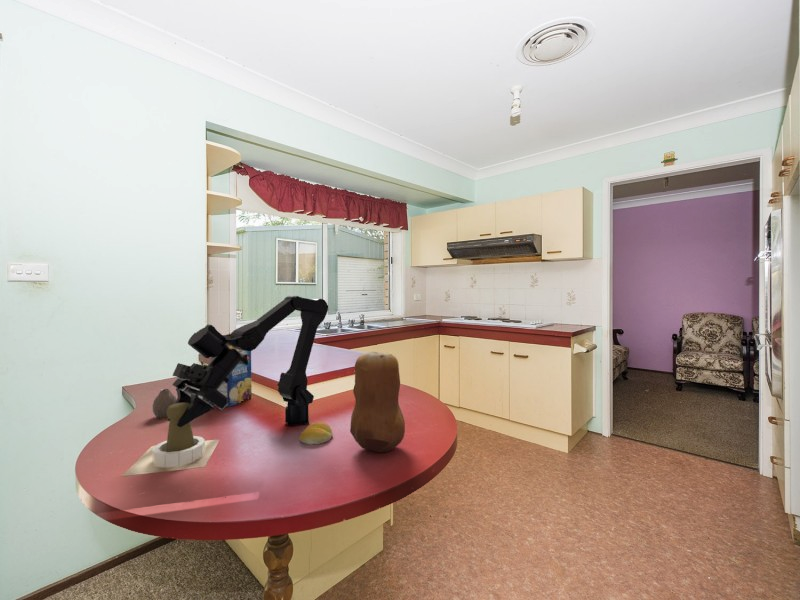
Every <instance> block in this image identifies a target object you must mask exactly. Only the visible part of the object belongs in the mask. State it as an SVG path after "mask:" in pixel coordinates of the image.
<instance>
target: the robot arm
mask: <svg viewBox="0 0 800 600" xmlns="http://www.w3.org/2000/svg"><path fill="white" fill-rule="evenodd" d="M295 311H297V312H300V319H301V320H300V321H301V327H300V331H299V335H298V337H297V341H296V345H295V349H294V352H293V356H292V360H291V363H290V366H289V369H287V370H286V372H281V373H280V376H279V380H278V383H277V385H276V386H277V387H278V389H277V392H278V393H279V395H280V396H281V397H282V399H283V402H285V403H287V404H286V405H287V406H285V408H284V410H285V413H284V414H285V423H286V426H287V427H290V426H291V427H292V425H293V426H300V425H302V426H303V425H310V417H309V414H310V413H309V405H310V404H312V403H313V401H314V398H315V396H314V395H313V394H312V393H311V392H310V391H309V390H308V383H309V382H308V376H307V372H306V371H307V368H308V365H309V361H310V356H311V353H312V349H313V346H314V343H315V339H316V335H317V331H318V328H319V327H320V326H321V324H322V323H323V321H324V320H325V319H326V316H327V314H328V311H329V305H328V302H327V301H326V300H325V299H324V298H305V297H301V296H299V295H288V296H286V297H284V299H283V300H282V301H280V302H279V303H278V304H276V305H275V306H274V307H272V308H271V309H270V310H268V311H267V312H265V313H264V314H263V315H262V316H260V317H259V318H257V319H256V320H255V321H252V322H250V323H246V324H244V325H241V326H240V327H238V328H236V329H234V330H232V332H231V333H229V334H225V335H223V334H222V333H220V332H219V331H218V330H217V329H216V327H215V326H214V325H212V324H206V325H205V326H204V327H202V328H200V329H199V330H198V331H196V332H194V333H193V334H192V335H191V336H190V338H189V339H188V341H187V344H188V345H189V346H190V347H191V348H192V349H193V350H194V351H196V352H198V353H199V354H200V355H201V356H202V357H203V358H205V359H211V357H212V358H214V357H215V358H214V359H213V360H212V361H211V360H210V362H209V363H208V364H198V363H195V362H194V363H193V364H191V365H187V364H183V363H177V364H176V366H175V369H174V371H173V373H172V376H173V377H176V378H177V379H176V380H175V381H174V382H173V383H172V386H173V387H175V391H176V394H177V397H176V399H177V401H176V403H189V404H190V405H189V407H188V408H187V409H186V411H185V412H184V414H183V415H182V417H181V418H180V420H179V421H178V423H177V426H179V427H182V426H184V425H186V424H187V423H189V422H191V423H192V422H193V421H194V420H196V419H199V417H201V416H203V415H205V414H207V413H209V412H211V411H214V410H215V408H216V409H219V410H221V411H223V410H224V409H225V408H226V407H225V406H226V405H227V404H228V398H227V397H226V396H224V395H223V394H222V393H220V392H219V391H218V388H219V387H220V386H221V385H222V383H223V382H225V383H227V382H228V381H229V379H228V378H227V377H228V376H229V375H230V374H231V372H232V371H233V370H234V369H235V367H236V366H237V365H238V364H239V363H240V364H244V365H248V360H247V355H246V354H240V353H239V352H238V351H237V350H236V349H239V350H244V351H251V352H252V351H254V350H255V349H257V347H259V346H260V345H261V344H262V342H263V341H264V340H265V337H266V335H267V334H268V333H269V332H270V331H271V330H272V329H273V328H275V327H276V326H277V325H279V324H280V323H281V322H282V321H284V320H285V319H286V318H287V317H289V316H290V315H291V314H293V312H295ZM226 345H231V346H232V347H233V348H235V349H230V348H228V347H227V346H226ZM176 403H175V404H176ZM214 405H216V406H215V407H214ZM167 421H168V422H170V419H169V418H167Z"/></svg>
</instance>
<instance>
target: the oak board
mask: <svg viewBox="0 0 800 600" xmlns="http://www.w3.org/2000/svg"><path fill="white" fill-rule="evenodd" d="M220 441H221V439H212V440H210V439H209V440H205V453H204V455H203V456H202V457H201V458H199V459H198V460H196V461H194V462H192V463H188V464H185V465H182V466H177V467H168V468H166V467H165V468H163V467H156V466H155V465H154V464H153V455H152V449H153V448H154V447H155V446H156V445H151V446H150V448H148V449H147V450H146V451H145V452H144V453H143V454H142V455H141V457H139V458H138V459H137V460H136V462H134V463H133V464H132V465H131V467H129V468H128V469H127V470H126V471H125V472H124V473H123V474H122V477H128V476H131V477H132V476H137V475H138V476H139V475H145V474H146V475H147V474H156V473H163V472H165V473H166V472H172V471H173V472H175V471H181V470H188V469H189V470H190V469H199V468H205V467H206V465H207V464H208V462H209V460H210V458H211V456H212V455H213V453H214V451H215V449H216V447H217V446H218V444H219V442H220Z"/></svg>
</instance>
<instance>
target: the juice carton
mask: <svg viewBox="0 0 800 600" xmlns="http://www.w3.org/2000/svg"><path fill="white" fill-rule="evenodd" d="M226 346H227V347H228V348H230V349H235V348H233V347H232V346H231V345H226ZM236 350H237V351H238V352H239V353H240V354H246V355H247V360H248V365H244V364H240V363H239V364H238V365H237V366H236V367H235V369H234V370H233V371H232V372H231V374H230V375H229V376H228V377H227V378H228V379H229V381H228V382H227V383H225V382H223V383H222V385H221V386H220V387H219V388H218V391H219V392H220V393H222V394H223V395H224V396H226V397H227V398H228V404H227V405H226V406H225V408H229V407H231V406H232V407H233V406H235V405H238V404H240V403H242V402H241V401H243V402H245V401H247V400H246V399H248V398H251V397H253V396H252V395H253V393H252V388H253V387H252V351H244V350H239V349H236ZM214 358H215V357H214ZM214 358H212V357H210V362H211V361H212V360H213V359H214ZM251 399H252V398H251ZM244 400H245V401H244ZM248 400H249V399H248ZM237 403H238V404H237ZM214 406H215V407H216V405H214ZM214 406H213V407H214Z"/></svg>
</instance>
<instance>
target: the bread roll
mask: <svg viewBox="0 0 800 600" xmlns="http://www.w3.org/2000/svg"><path fill="white" fill-rule="evenodd" d="M332 436H333V429H332V428H331V426H330V425H328V424H327V423H326V422H313V423H311V424H308V426H307V427H306V428H305V429H304V430H302V431H301V433H300V435H299V441H300V442H302V443H303V444H306V445H308V444H309V446H310V444H311V446H313V445H312V444H316V445H320V443H321V444H324V442H325V443H326V442H327V443H328V441H329V440H331V438H332Z"/></svg>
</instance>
